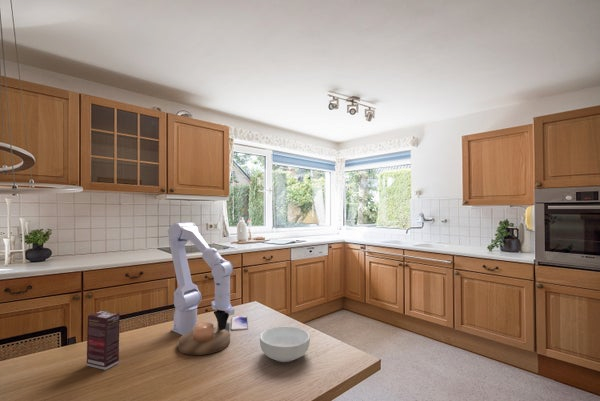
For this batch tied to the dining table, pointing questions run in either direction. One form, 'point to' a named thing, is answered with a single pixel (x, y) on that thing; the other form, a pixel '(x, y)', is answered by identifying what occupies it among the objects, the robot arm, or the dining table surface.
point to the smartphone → (239, 323)
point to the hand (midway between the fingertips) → (222, 329)
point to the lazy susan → (204, 343)
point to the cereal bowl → (284, 343)
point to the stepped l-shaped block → (227, 327)
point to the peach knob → (203, 332)
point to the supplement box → (103, 340)
